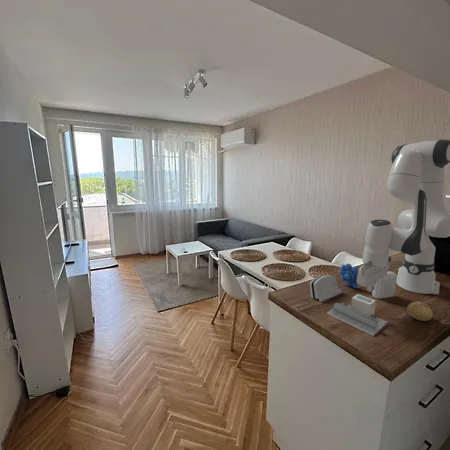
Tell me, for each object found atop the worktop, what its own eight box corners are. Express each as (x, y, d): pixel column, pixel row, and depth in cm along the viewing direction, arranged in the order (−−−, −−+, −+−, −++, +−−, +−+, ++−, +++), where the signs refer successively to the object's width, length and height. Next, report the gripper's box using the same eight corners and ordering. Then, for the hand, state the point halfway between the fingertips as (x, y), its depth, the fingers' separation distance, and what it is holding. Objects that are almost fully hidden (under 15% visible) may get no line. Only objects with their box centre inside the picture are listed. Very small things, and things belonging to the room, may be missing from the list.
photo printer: (388, 292, 118) (391, 268, 116) (395, 297, 114) (399, 272, 112) (370, 295, 116) (372, 271, 113) (377, 299, 112) (380, 274, 109)
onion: (410, 321, 95) (412, 305, 94) (403, 311, 103) (405, 295, 101) (435, 325, 93) (438, 308, 91) (426, 314, 100) (428, 298, 99)
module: (356, 306, 105) (357, 293, 104) (374, 313, 99) (375, 299, 98) (350, 310, 102) (352, 296, 101) (368, 318, 97) (370, 303, 95)
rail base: (342, 304, 109) (342, 296, 108) (387, 323, 94) (388, 314, 94) (327, 313, 102) (327, 305, 101) (373, 336, 87) (374, 326, 87)
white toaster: (319, 302, 111) (315, 280, 112) (311, 301, 115) (307, 280, 116) (342, 292, 119) (337, 272, 120) (333, 292, 123) (329, 272, 124)
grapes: (333, 284, 128) (335, 262, 125) (341, 281, 132) (343, 260, 129) (355, 293, 118) (358, 269, 116) (363, 289, 122) (365, 266, 120)
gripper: (371, 266, 92) (366, 300, 94) (393, 256, 104) (388, 286, 106) (354, 262, 97) (350, 294, 99) (377, 252, 108) (373, 281, 111)
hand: (370, 290), depth 103 cm, fingers closed
